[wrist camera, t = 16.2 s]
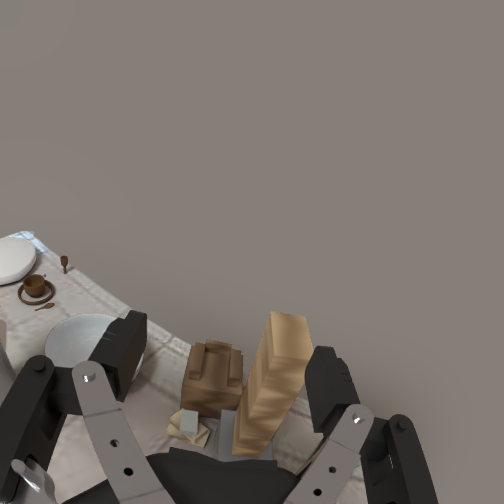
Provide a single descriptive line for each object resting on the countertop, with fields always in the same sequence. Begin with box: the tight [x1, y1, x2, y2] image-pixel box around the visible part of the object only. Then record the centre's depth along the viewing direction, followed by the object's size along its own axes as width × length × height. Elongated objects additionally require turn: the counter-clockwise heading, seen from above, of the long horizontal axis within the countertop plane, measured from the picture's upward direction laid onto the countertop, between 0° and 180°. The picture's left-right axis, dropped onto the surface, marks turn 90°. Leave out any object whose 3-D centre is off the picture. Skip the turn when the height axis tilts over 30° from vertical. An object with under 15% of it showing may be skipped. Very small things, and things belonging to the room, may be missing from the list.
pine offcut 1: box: [170, 408, 208, 444], centre depth 40 cm, size 6×3×2 cm, turn 54°
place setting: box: [18, 256, 68, 311], centre depth 63 cm, size 18×20×6 cm
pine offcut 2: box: [166, 423, 210, 448], centre depth 41 cm, size 7×4×2 cm, turn 79°
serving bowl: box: [45, 313, 144, 381], centre depth 47 cm, size 21×21×7 cm
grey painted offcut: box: [179, 409, 198, 436], centre depth 39 cm, size 4×3×2 cm, turn 5°
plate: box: [0, 237, 36, 285], centre depth 63 cm, size 28×6×27 cm
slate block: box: [213, 409, 273, 462], centre depth 37 cm, size 8×10×8 cm
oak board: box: [232, 311, 314, 458], centre depth 31 cm, size 4×7×22 cm, turn 0°
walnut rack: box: [180, 340, 243, 419], centre depth 48 cm, size 10×10×12 cm
